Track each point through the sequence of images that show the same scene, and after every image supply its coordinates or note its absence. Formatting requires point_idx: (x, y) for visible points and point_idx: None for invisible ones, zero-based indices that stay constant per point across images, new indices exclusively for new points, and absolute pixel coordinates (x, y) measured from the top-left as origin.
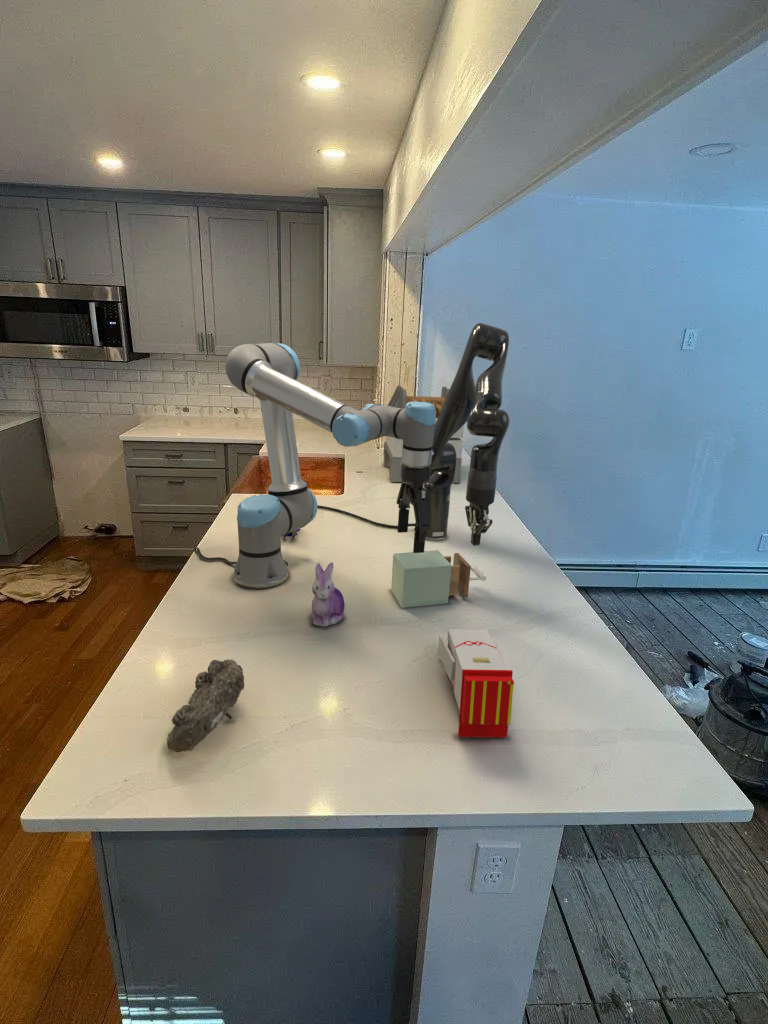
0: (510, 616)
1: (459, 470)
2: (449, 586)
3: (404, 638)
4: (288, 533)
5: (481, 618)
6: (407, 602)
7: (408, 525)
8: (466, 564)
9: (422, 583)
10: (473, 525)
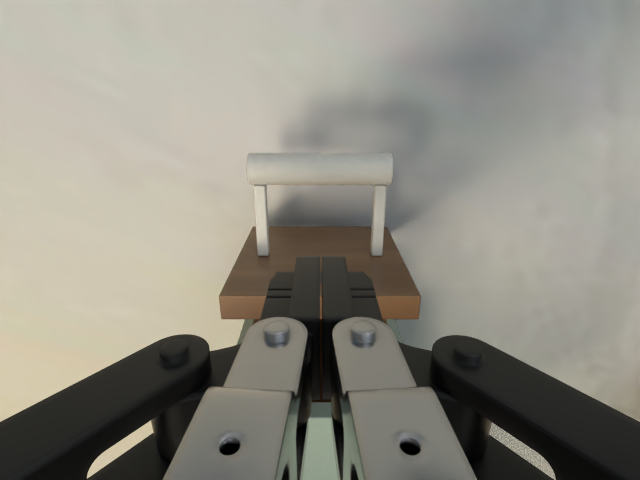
0: (561, 102)
1: None
2: (400, 338)
3: (532, 462)
4: None
5: (526, 225)
6: None
7: None
8: (394, 312)
9: None
10: (302, 467)
